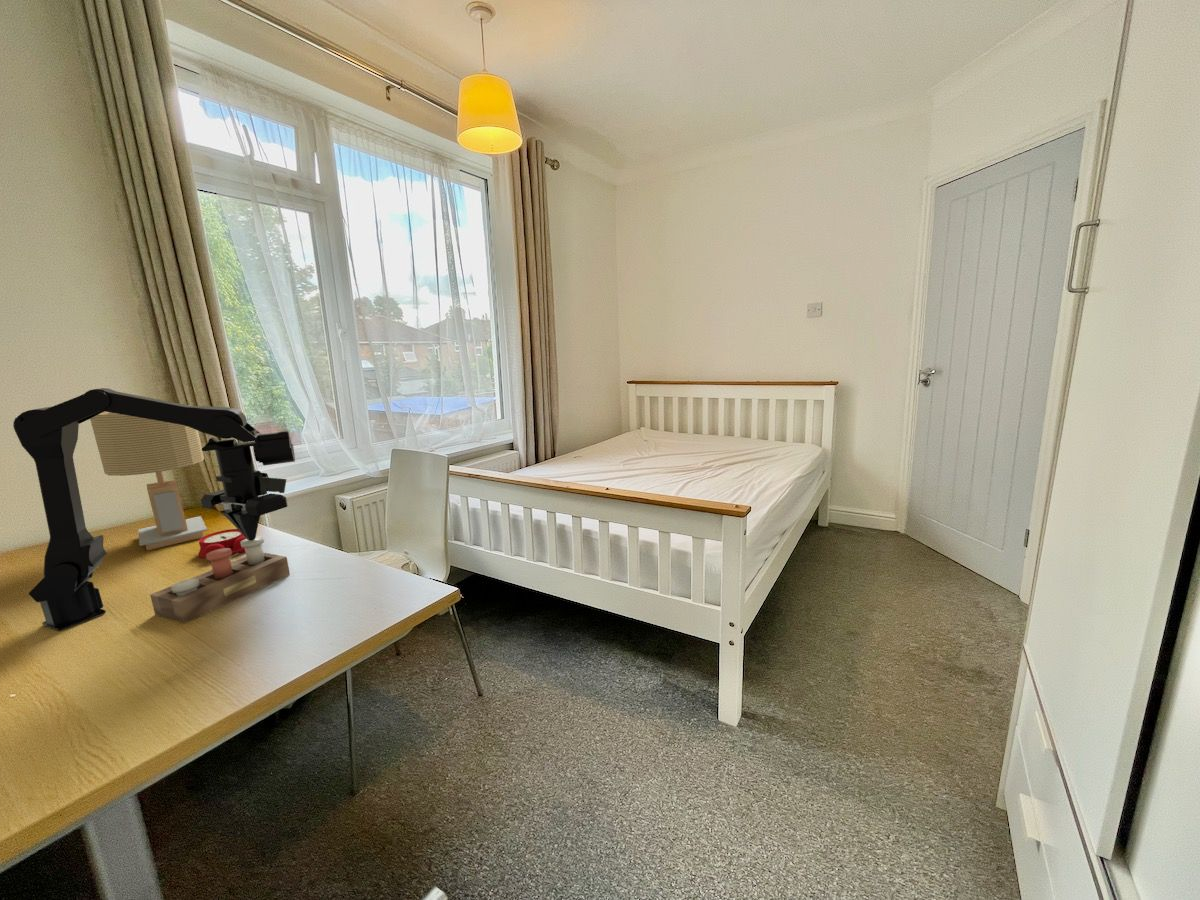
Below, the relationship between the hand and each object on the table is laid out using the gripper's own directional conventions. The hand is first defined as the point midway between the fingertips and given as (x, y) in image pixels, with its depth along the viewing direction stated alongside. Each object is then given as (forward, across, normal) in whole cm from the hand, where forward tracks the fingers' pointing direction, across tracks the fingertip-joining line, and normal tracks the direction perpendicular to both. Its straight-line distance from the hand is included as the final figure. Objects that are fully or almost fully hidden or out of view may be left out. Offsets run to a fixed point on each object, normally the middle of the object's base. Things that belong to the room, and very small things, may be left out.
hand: (251, 539), depth 101 cm
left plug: (+9, 0, +13) cm, 16 cm away
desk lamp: (+9, +50, -10) cm, 52 cm away
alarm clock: (+10, +24, -8) cm, 27 cm away
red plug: (+5, 0, +7) cm, 8 cm away
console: (+9, 0, +6) cm, 11 cm away
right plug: (+5, 0, 0) cm, 5 cm away
